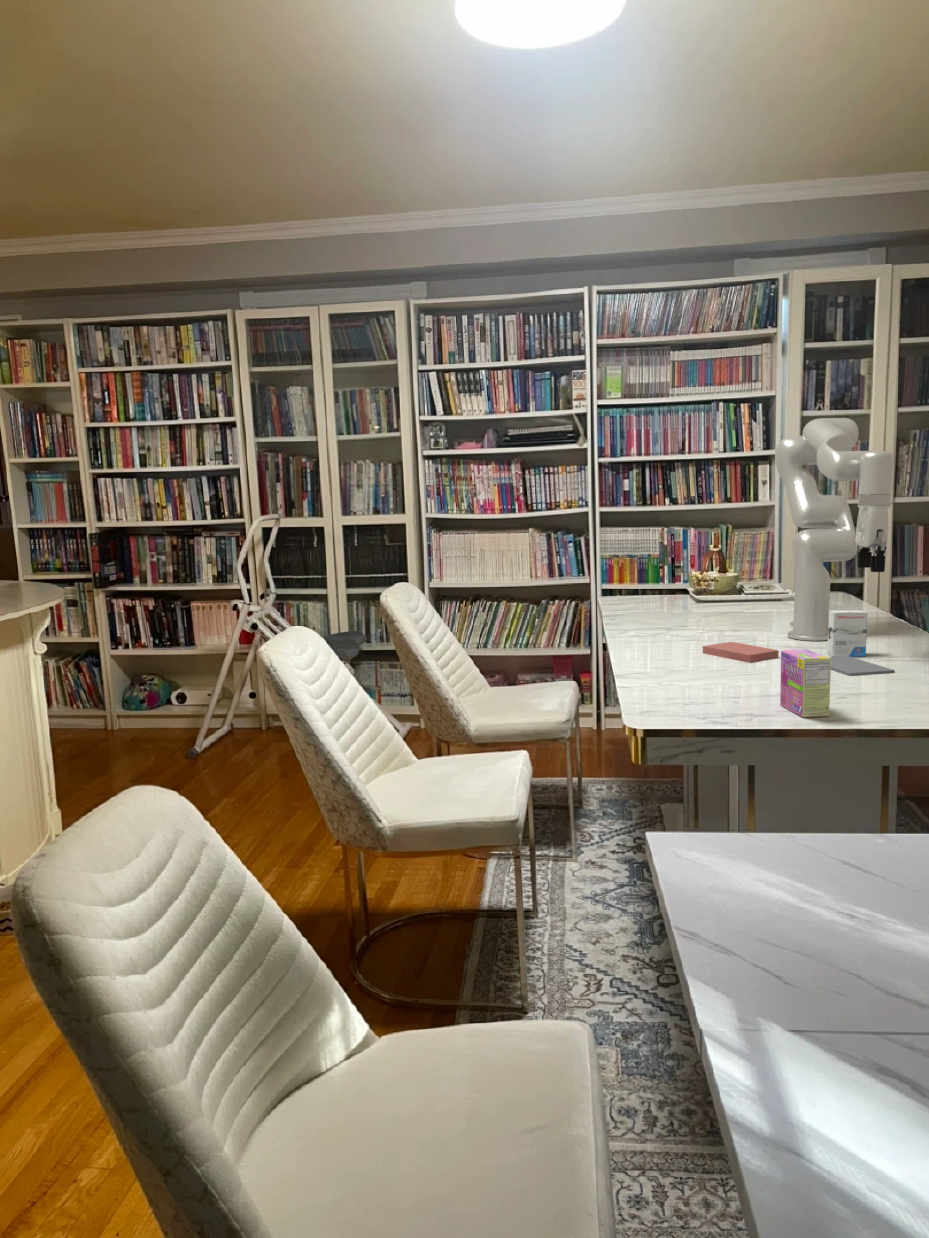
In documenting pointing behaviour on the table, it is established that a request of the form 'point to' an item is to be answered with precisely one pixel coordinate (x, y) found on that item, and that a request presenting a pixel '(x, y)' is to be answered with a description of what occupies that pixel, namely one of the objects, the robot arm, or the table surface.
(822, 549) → the robot arm
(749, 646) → the hardcover book
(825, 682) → the box
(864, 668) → the slate mat
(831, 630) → the ink box
